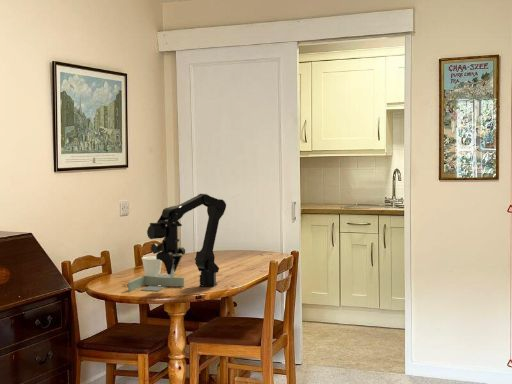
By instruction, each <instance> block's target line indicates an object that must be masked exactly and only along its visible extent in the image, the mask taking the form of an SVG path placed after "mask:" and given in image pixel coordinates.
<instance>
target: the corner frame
mask: <svg viewBox="0 0 512 384" xmlns="http://www.w3.org/2000/svg"><path fill="white" fill-rule="evenodd" d="M150 285H161V286H167V287H178V286H181V287H185V277H183V276H181V277H180V276H174V277H171V278H161V277H157V276H145V275H142V276H139V277H137V278H134V279H132V280H130V281H129V280H128V282H127V287H128V290H127V291H128V292H133V291H135V290H137V289H139V288H141V286H142V287H144V286H150Z"/></svg>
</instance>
